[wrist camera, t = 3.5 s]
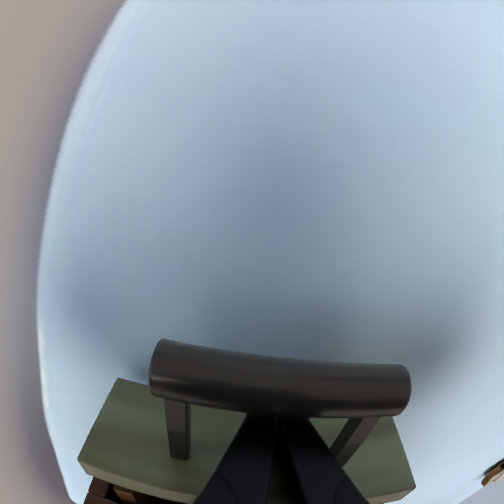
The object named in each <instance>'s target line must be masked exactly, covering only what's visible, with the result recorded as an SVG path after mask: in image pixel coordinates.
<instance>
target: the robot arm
mask: <svg viewBox="0 0 504 504" xmlns="http://www.w3.org/2000/svg"><path fill="white" fill-rule="evenodd" d="M345 474H346V472H345V471H344V469H343V468H342V466H341V465H340V463H339V462H338V461H337V459H336V458H335V456H334V455H333V453H332V452H331V450H330V449H329V447H328V446H327V445H326V443H325V442H324V440H323V439H322V437H321V436H320V434H319V433H318V431H317V430H316V428H315V427H314V425H313V424H312V422H311V421H310V419H309V418H301V417H284V416H271V415H260V414H251V413H247V414H246V416H245V418H244V419H243V421H242V423H241V425H240V427H239V429H238V431H237V432H236V434H235V436H234V438H233V440H232V442H231V443H230V445H229V447H228V449H227V450H226V452H225V454H224V456H223V458H222V459H221V461H220V463H219V464H218V466H217V468H216V470H215V471H214V473H213V474H212V476H211V478H210V479H209V481H208V483H207V484H206V486H205V487H204V489H203V490H202V492H201V493H200V494H199V496H198V497H197V498H196V499H195V501H194V502H193V503H192V504H268V498H269V504H370V503H369V502H368V501H367V499H366V498H365V497H364V496H363V495H362V494H361V492H360V491H359V490H358V488H357V487H356V486H355V485H354V483H353V482H352V480H351V479H350V478H349V476H348V475H347V474H346V475H345Z"/></svg>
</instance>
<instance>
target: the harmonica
mask: <svg viewBox="0 0 504 504" xmlns="http://www.w3.org/2000/svg"><path fill="white" fill-rule="evenodd" d="M502 479H504V461H503V462H502V463H500V464H499V465H498V466H497V467H496V468H495V469H493V470H492V471H490V472H489V473H488V474H487V475H486V476H485V478H484V479H483V480H482V481H481V482H482V483H481V484H483V486H485V485H487V484H489V483H491V482H493V481H494V483H497V482H499V481H500V480H502Z"/></svg>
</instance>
